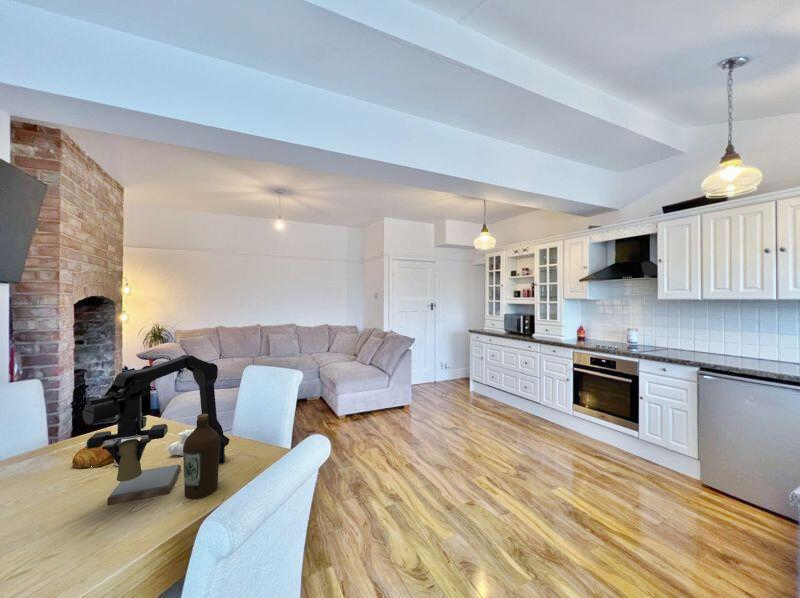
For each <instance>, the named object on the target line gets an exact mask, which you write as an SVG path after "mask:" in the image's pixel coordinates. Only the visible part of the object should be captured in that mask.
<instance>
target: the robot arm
mask: <svg viewBox="0 0 800 598" xmlns="http://www.w3.org/2000/svg"><path fill="white" fill-rule="evenodd" d="M184 369H186V370H188V371H189V372H191V373H192V376H193V379H194V381H195V383H196V384H197V386H198V387H199V397H200V398H199V400H200V407H201V409H200V411H201V412H200V413H201V414H208V418H209V421H208V425H209V426H210V427H211V428H212V429H213V430H215V431H216V432H217V433H218V434H219V437H220V455H219V465H220V464H224V463H225V461H226V460H225V459H226V447H227V446H228V445H229V443H230V438H229V437H228V436H226V435H225V434H224V430H223V426H222V425H221V423H220V422H219V420H218V417H217V416H218V413H217V405H216V403H217V402H216V392H215V383H216V381H217V379H218V375H219V373H218V372H219V367H218V365H217V364H215V363H214V362H207V361H205V360H203V359H200V358H198V357H196V356H194V355H191V354H182V355H181V356H178V357H175V358H174V359H173V358H172V359H170V360H167V361H164V362H161V363H159V364H156V365H152V366H150V367H147V368H140V369H133V370H127V371H123V372H120V373H118V374H117V375H116V376H115V377H114V379H113V380H114V381H113V382H112V384H111V385H110V387H109V388H108V389H107V391H106V392H105V393H104V396H102V397H97V398H91V399H87V402H86V404H85V406H84V408H83V410H82V419H83V421H84V422H85V424H86V425H94V424H97V423H99V422H102V421H106V420H110V419H113V418H115V417H116V416H117V419H116V420H115V423H116V425H117V430H116V431H117V433H112V431H111V430H108V431H107V430H106V431H99V432H95V433H93V435H92V436H90V437H89V438H88V439H87V441H86V446H85V447H86V448H87V449H91V448H98V447H100V446H101V445H102V444H103V447H102V449H106V450H107V451H108V452H109V453H110V454H111V455H112V456H113V458H114V459H115V461H116V462H117V464H118V465H119V463H120V456H121V453H120V452H119V450H118V448H119V445H120V444H121V440H122V439H130V438H137V439H138V438H140V440H139V442H138V451H137V460H138V462H140V463H141V460H142V457H143V455H144V451H145V449H146V447H147V444H148V443H151V441H152V440H159V439H163V438H165V436H166V435H167V433H168V431H169V429H168V426H169V425H167V424H166V423H162V424H161V423H160V424H155V425H152V426H151V427H150V428H149V429H145V427H146V428H147V419H148V416H143V412H142V397H144V396H149V395H150V392H148V391H147V390H145V388H147V386H150V384H151V383H153V381H156V380H157V379H158V380H159V379H160V378H163V377H165V376H168V375H171V374H173V373H176V372H179V371H181V370H184ZM121 391H122V392H121ZM143 429H144V430H143Z"/></svg>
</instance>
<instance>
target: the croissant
mask: <svg viewBox="0 0 800 598" xmlns="http://www.w3.org/2000/svg"><path fill="white" fill-rule="evenodd" d="M102 447H103V444H102V445H101V446H100V447H98V448H91V449H87V448H86V446H85V447H83V448H81V449H79V450H78V451H77V452H76V453H75V455H74V456H73V457H72V461H71V462H72V466H73V467H74V468H75V469H77V468H78V469H81V468H82V469H84V468H85V467H89V468H92V467H94V468H98V467H102V466H106V465H108V464H110V463H114V458H113V456H112V455H111V454H110V453H109V452H108V451H107V450H106V449H102ZM91 466H92V467H91ZM94 468H93V469H94Z"/></svg>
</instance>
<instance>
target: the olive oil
mask: <svg viewBox="0 0 800 598" xmlns="http://www.w3.org/2000/svg"><path fill="white" fill-rule="evenodd" d="M196 417H197V419H196V427H195V428H194V429H195V430H194V431H193V432H192V433H191V434H190V435H189V436H188V437H187V439H186V440H185V443H184V446H183V456H182V457H183V482H184V484H183V485H184V486H183V487H184V497H185V498H186V499H189V500H195V499H202V498H206V497H208V496H210V495H212V494H213V493H215V492H216V491H217V489H218V486H219V471H220V470H219V469H220V468H219V467H220V464H219V455H220V437H219V434H218V433H217V432H216V431H215V430H213V429H212V428H211V427H210V426H209V425H208V421H209V418H208V414H202V413H201V414H198V415H197V416H196Z"/></svg>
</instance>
